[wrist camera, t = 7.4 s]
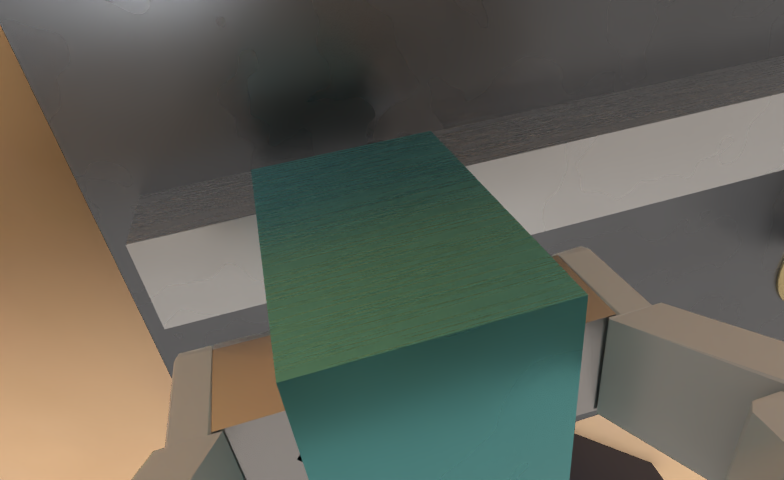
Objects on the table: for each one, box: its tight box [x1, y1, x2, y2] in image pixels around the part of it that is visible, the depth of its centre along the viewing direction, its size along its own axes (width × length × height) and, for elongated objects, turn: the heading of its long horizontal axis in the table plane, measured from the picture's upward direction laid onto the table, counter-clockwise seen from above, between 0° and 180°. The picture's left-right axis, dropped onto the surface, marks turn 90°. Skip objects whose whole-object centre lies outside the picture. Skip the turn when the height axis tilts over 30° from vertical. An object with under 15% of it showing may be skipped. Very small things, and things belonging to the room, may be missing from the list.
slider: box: [251, 131, 588, 480], centre depth 11 cm, size 3×9×7 cm, turn 7°
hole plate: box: [0, 0, 784, 422], centre depth 14 cm, size 26×16×6 cm, turn 97°
